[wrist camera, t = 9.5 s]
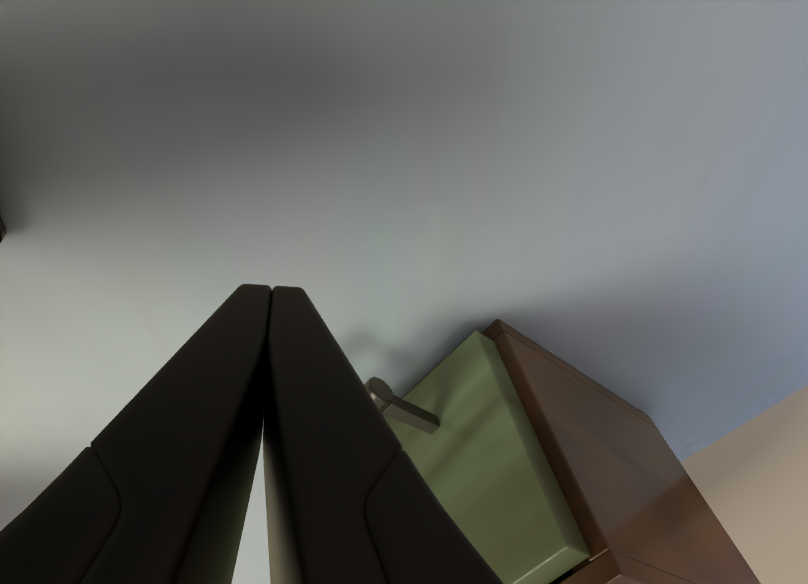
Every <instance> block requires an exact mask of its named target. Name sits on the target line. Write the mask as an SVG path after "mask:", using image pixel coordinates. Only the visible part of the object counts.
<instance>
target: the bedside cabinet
mask: <svg viewBox="0 0 808 584" xmlns="http://www.w3.org/2000/svg"><path fill="white" fill-rule="evenodd" d="M482 335H484V336H486V337H487V338H489V339H491V340H492V341H494V343H495V345H496V348H497V350H498V352H499V354H500V356H501V359H502V361H503V363H504V365H505V367H506V369H507V372H508V374H509V376H510V378H511V380H512V383H513V385H514V387H515V389H516V391H517V394H518V396H519V398H520V400H521V402H522V405H523V407H524V409H525V411H526V413H527V416H528V418H529V420H530V422H531V424H532V427H533V429H534V431H535V433H536V435H537V438H538V440H539V442H540V444H541V446H542V449H543V451H544V453H545V455H546V457H547V460H548V462H549V464H550V466H551V468H552V471H553V473H554V475H555V477H556V479H557V481H558V484H559V486H560V488H561V490H562V492H563V495H564V497H565V499H566V501H567V503H568V506H569V508H570V510H571V512H572V514H573V517H574V519H575V521H576V523H577V525H578V528H579V530H580V532H581V534H582V536H583V539H584V541H585V543H586V545H587V547H588V550H589V552H590V556H589V557H588V559H589V561H590V563H589V564H587V565H586V566H584V567H583V568H581V569H580V570H578V571H577V572H575V573H574V574H572V575H571V576H569V577H568V578H566V579H565V580H563V581H562V582H560V583H559V584H761V583H760V582H759V580H758V579H757V577H756V576H755V574H754V573H753V571H752V570H751V568H750V567H749V565H748V564H747V562H746V561H745V559H744V558H743V556H742V555H741V553H740V552H739V551H738V549H737V547H736V546H735V544H734V543H733V541H732V540H731V538H730V537H729V535H728V534H727V532H726V531H725V530H724V528H723V527H722V525H721V523H720V522H719V520H718V519H717V518H716V516H715V515H714V513H713V511H712V510H711V509H710V507H709V506H708V504H707V502H706V501H705V500H704V498H703V497H702V495H701V493H700V492H699V491H698V489H697V488H696V486H695V485H694V483H693V482H692V480H691V479H690V477H689V476H688V474H687V473H686V471H685V470H684V468H683V467H682V465H681V464H680V462H679V461H678V459H677V458H676V456H675V455H674V453H673V452H672V450H671V449H670V447H669V446H668V444H667V443H666V441H665V440H664V438H663V437H662V435H661V434H660V432H659V431H658V429H657V428H656V426H655V425H654V423H653V422H652V420H651V419H650V417H648V416H647V415H645V414H644V413H642V412H641V411H639V410H638V409H636V408H634V407H633V406H631V405H630V404H628V403H627V402H625V401H624V400H622V399H620V398H619V397H617V396H616V395H614V394H613V393H611V392H610V391H608V390H606V389H605V388H603V387H602V386H600V385H599V384H597V383H596V382H594V381H593V380H591V379H589V378H588V377H586V376H585V375H583V374H582V373H580V372H579V371H577V370H575V369H574V368H572V367H571V366H569V365H568V364H566V363H565V362H563V361H562V360H560V359H558V358H557V357H555V356H554V355H552V354H551V353H549V352H548V351H546V350H544V349H543V348H541V347H540V346H538V345H537V344H535V343H534V342H532V341H531V340H529V339H527V338H526V337H524V336H523V335H521V334H520V333H518V332H517V331H515V330H513V329H512V328H510V327H509V326H507V325H506V324H504V323H503V322H501V321H499V320H497V321H496V322H495V323H494V324H493V325H491V326H490V327H489V328H488V329H487V330H486V331H485V332H484V333H483V334H482Z"/></svg>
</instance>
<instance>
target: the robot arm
mask: <svg viewBox="0 0 808 584" xmlns="http://www.w3.org/2000/svg"><path fill="white" fill-rule="evenodd" d="M5 234H6V228H5V225H4V223H3V221H2V218H1V216H0V243H1V241H2V240H3V238H4V237H5ZM263 420H264V426H263ZM262 430H263V459H264V477H265V494H266V511H267V528H268V546H269V563H270V580H271V584H504V583H503V582H502V581H501V579H500V578H499V577H498V576H497V574H496V573H495V572H494V571H493V570H492V568H491V567H490V566H489V565H488V563H487V562H486V561H485V560H484V559H483V557H482V556H481V555H480V554H479V552H478V551H477V550H476V549H475V548H474V546H473V545H472V544H471V543H470V541H469V540H468V539H467V538H466V536H465V535H464V534H463V532H462V531H461V530H460V528H459V527H458V526H457V525H456V523H455V522H454V521H453V519H452V518H451V517H450V516H449V514H448V513H447V512H446V510H445V509H444V508H443V507H442V505H441V504H440V502H439V501H438V499H437V498H436V496H435V495H434V493H433V492H432V490H431V489H430V487H429V486H428V485H427V483H426V482H425V480H424V479H423V477H422V476H421V474H420V473H419V471H418V470H417V468H416V466H415V465H414V463H413V462H412V460H411V458H410V457H409V455H408V453H407V452H406V451H405V450H402V449H403V447H402V444H401V443H400V441H399V440H398V438H397V437H396V435H395V433H394V432H393V430H392V429H391V427H390V425H389V424H388V422H387V421H386V419H385V418H384V416H383V414H382V413H381V411H380V410H379V408H378V406H377V405H376V403H375V402H374V400H373V399H372V397H371V395H370V394H369V392H368V391H367V389H366V387H365V386H364V384H363V383H362V381H361V379H360V378H359V376H358V375H357V373H356V372H355V370H354V368H353V367H352V365H351V364H350V362H349V360H348V359H347V357H346V356H345V354H344V353H343V351H342V349H341V348H340V346H339V345H338V343H337V341H336V340H335V338H334V337H333V335H332V334H331V332H330V330H329V329H328V327H327V326H326V324H325V322H324V321H323V319H322V318H321V316H320V314H319V313H318V311H317V310H316V308H315V307H314V305H313V303H312V302H311V300H310V299H309V297H308V295H307V294H306V292H305V291H304V290H303V289H302V288H300V287H287V286H276V287H274V288H273V290H272V289H271V287H270V286H268V285H256V284H242V285H240V286H239V287H238V288H237V289H236V290H235V291H234V292H233V293H232V294H231V295H230V297H229V298H228V299H227V300H226V301H225V302H224V303H223V304H222V305H221V306H220V307H219V308H218V309H217V310H216V311H215V312H214V313H213V314H212V316H211V317H210V318H209V319H208V320H207V321H206V322H205V323H204V324H203V325H202V326H201V327H200V328H199V329H198V330H197V331H196V332H195V333H194V334H193V336H192V337H191V338H190V339H189V340H188V341H187V342H186V343H185V344H184V345H183V346H182V347H181V348H180V349H179V350H178V351H177V352H176V353H175V355H174V356H173V357H172V358H171V359H170V360H169V361H168V362H167V363H166V364H165V365H164V366H163V367H162V368H161V369H160V370H159V371H158V372H157V374H156V375H155V376H154V377H153V378H152V379H151V380H150V381H149V382H148V383H147V384H146V385H145V386H144V387H143V388H142V389H141V390H140V391H139V392H138V394H137V395H136V396H135V397H134V398H133V399H132V400H131V401H130V402H129V403H128V404H127V405H126V406H125V407H124V408H123V409H122V410H121V411H120V413H119V414H118V415H117V416H116V417H115V418H114V419H113V420H112V421H111V422H110V423H109V424H108V425H107V426H106V427H105V428H104V429H103V430H102V431H101V433H100V434H99V435H98V436H97V437H96V438H95V439H94V440H93V441H92V442H91V447H86V448H85V449H84V450H83V451H82V452H81V453H80V454H79V455H78V456H77V457H76V458H75V459H74V461H73V462H72V463H71V464H70V465H69V466H68V467H67V468H66V469H65V470H64V471H63V472H62V473H61V474H60V475H59V476H58V477H57V478H56V479H55V480H54V481H53V482H52V483H51V484H50V485H49V486H48V487H47V488H46V489H45V490H44V491H43V492H42V493H41V494H40V495H39V496H38V497H37V498H36V499H35V500H34V501H33V502H32V503H31V504H30V505H29V506H28V507H27V508H26V509H25V510H24V511H23V512H22V513H20V514H19V515H18V516H17V517H16V518H15V519H14V520H13V521H12V522H10V523H9V524H8V525H7V526H6V527H5V528H4V529H3V530H2V531H0V584H231V582H232V577H233V573H234V568H235V563H236V559H237V554H238V549H239V545H240V540H241V535H242V531H243V526H244V521H245V517H246V512H247V507H248V503H249V498H250V493H251V489H252V484H253V479H254V475H255V470H256V465H257V461H258V456H259V450H260V445H261V439H262Z"/></svg>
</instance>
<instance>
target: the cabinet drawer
mask: <svg viewBox="0 0 808 584" xmlns="http://www.w3.org/2000/svg"><path fill="white" fill-rule="evenodd" d="M364 386H365V387H366V389H367V391H368V392H369V394H370V395H371V397H372V399H373V400H374V402H375V403H376V405H377V406H378V408H379V410H380V411H381V412H383V413H384V414H385V415H384V418H385V419H386V421H387V422H388V424H389V425H390V427H391V429H392V430H393V432H394V433H395V435H396V437H397V438H398V440H399V441H400V443H401V444H402V447H403V449H402V450H405V451H406V452H407V453H408V455H409V457H410V458H411V460H412V462H413V463H414V465H415V466H416V468H417V470H418V471H419V473H420V474H421V476H422V477H423V479H424V480H425V482H426V483H427V485H428V486H429V487H430V489H431V490H432V492H433V493H434V495H435V496H436V498H437V499H438V501H439V502H440V504H441V505H442V507H443V508H444V509H445V510H446V512H447V513H448V514H449V516H450V517H451V518H452V519H453V521H454V522H455V523H456V525H457V526H458V527H459V528H460V530H461V531H462V532H463V534H464V535H465V536H466V538H467V539H468V540H469V541H470V543H471V544H472V545H473V546H474V548H475V549H476V550H477V551H478V552H479V554H480V555H481V556H482V557H483V559H484V560H485V561H486V562H487V563H488V565H489V566H490V567H491V568H492V570H493V571H494V572H495V573H496V574H497V576H498V577H499V578H500V579H501V581H502V582H503V583H504V584H559V583H560V582H562V581H563V580H565V579H566V578H568V577H569V576H571V575H572V574H574V573H575V572H577V571H578V570H580V569H581V568H583V567H584V566H586V565H587V564H589V563H590V561H589V559H588V557H589V556H590V552H589V550H588V547H587V545H586V543H585V541H584V539H583V536H582V534H581V532H580V530H579V528H578V525H577V523H576V521H575V519H574V517H573V514H572V512H571V510H570V508H569V506H568V503H567V501H566V499H565V497H564V495H563V492H562V490H561V488H560V486H559V484H558V481H557V479H556V477H555V475H554V473H553V471H552V468H551V466H550V464H549V462H548V460H547V457H546V455H545V453H544V451H543V449H542V446H541V444H540V442H539V440H538V438H537V435H536V433H535V431H534V429H533V427H532V424H531V422H530V420H529V418H528V416H527V413H526V411H525V409H524V407H523V405H522V402H521V400H520V398H519V396H518V394H517V391H516V389H515V387H514V385H513V383H512V380H511V378H510V376H509V374H508V372H507V369H506V367H505V365H504V363H503V361H502V359H501V356H500V354H499V352H498V350H497V348H496V345H495V343H494V341H492V340H491V339H489V338H487V337H486V336H484V335H482V334H481V333H479V332H477V331H474V332H473V333H472V334H471V335H470V336H469V337H468V338H467V339H466V340H465V341H464V342H463V343H461V344H460V345H459V346H458V347H457V348H456V349H455V350H454V351H453V352H452V353H451V354H450V355H449V356H448V357H446V358H445V359H444V360H443V361H442V362H441V363H440V364H439V365H438V366H437V367H436V368H435V369H434V370H433V371H431V372H430V373H429V374H428V375H427V376H426V377H425V378H424V379H423V380H422V381H421V382H420V383H419V384H418V385H417V386H415V387H414V388H413V389H412V390H411V391H410V392H409V393H408V394H407V395H406V396H405V397H404V398H403V399H401V398H399V397H397V396H395V395H393V393H392V390H391V389H390V387H389V386H388V385H387V384H386V383H385V382H384V381H383V380H381V379H379V378H377V377H372V378H370V379H369V380H368V381H367V382H366V383H365V384H364Z"/></svg>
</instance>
